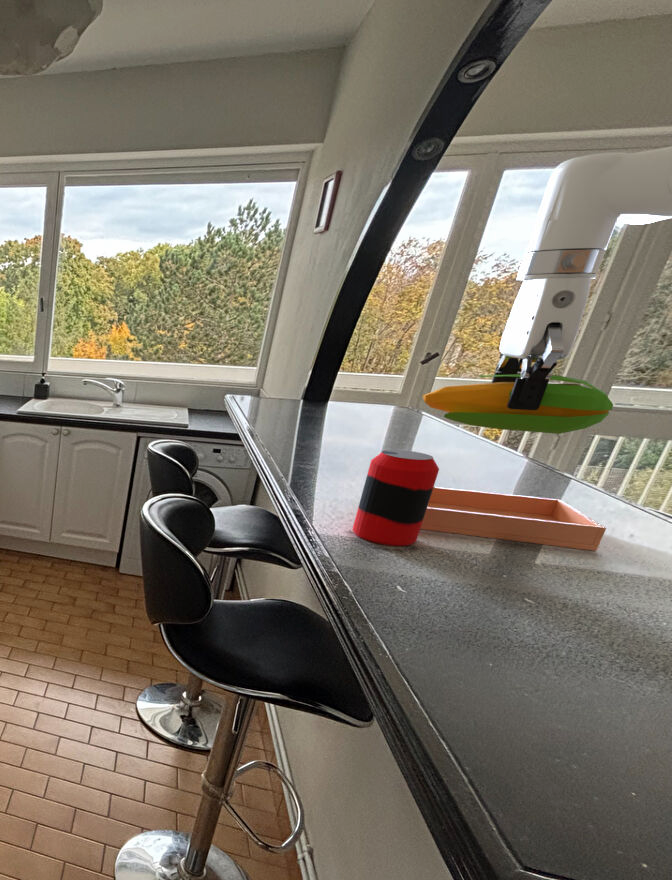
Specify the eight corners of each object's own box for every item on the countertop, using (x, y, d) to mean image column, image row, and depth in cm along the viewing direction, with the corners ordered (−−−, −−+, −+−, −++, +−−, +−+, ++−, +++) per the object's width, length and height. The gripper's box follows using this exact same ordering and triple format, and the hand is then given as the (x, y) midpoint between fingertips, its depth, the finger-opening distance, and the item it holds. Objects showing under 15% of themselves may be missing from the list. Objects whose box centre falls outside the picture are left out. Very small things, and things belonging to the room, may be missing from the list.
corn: (632, 379, 73) (431, 369, 84) (608, 440, 76) (415, 423, 87) (615, 377, 79) (429, 369, 90) (593, 434, 81) (415, 419, 92)
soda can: (350, 524, 89) (371, 446, 84) (411, 533, 85) (437, 452, 81) (353, 540, 83) (375, 457, 78) (419, 550, 79) (447, 464, 75)
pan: (552, 519, 91) (561, 499, 89) (596, 551, 79) (606, 528, 78) (367, 499, 100) (372, 480, 99) (382, 524, 89) (388, 503, 88)
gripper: (634, 262, 67) (574, 416, 74) (566, 270, 82) (520, 398, 89) (549, 264, 70) (498, 412, 77) (498, 271, 85) (458, 395, 92)
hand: (510, 404), depth 83 cm, fingers closed on corn, 7 cm apart
